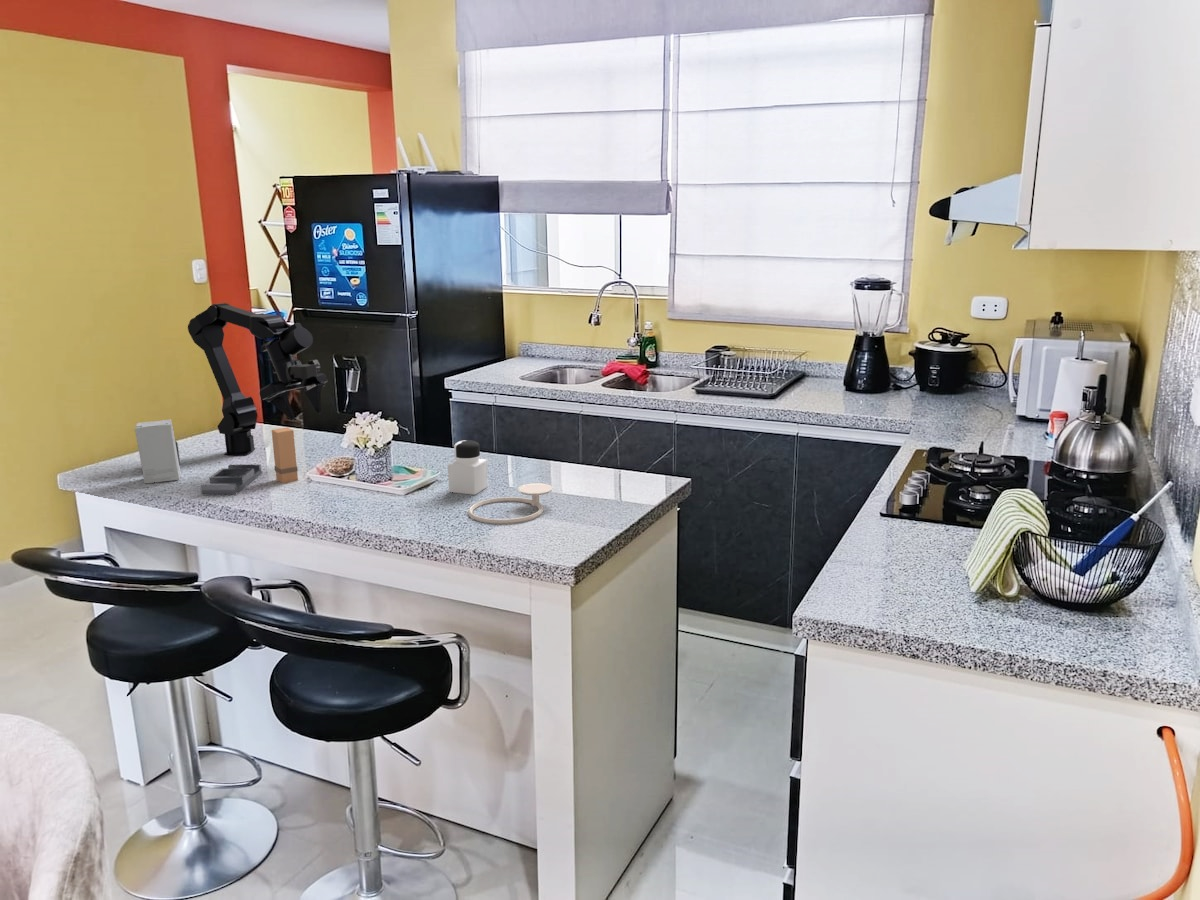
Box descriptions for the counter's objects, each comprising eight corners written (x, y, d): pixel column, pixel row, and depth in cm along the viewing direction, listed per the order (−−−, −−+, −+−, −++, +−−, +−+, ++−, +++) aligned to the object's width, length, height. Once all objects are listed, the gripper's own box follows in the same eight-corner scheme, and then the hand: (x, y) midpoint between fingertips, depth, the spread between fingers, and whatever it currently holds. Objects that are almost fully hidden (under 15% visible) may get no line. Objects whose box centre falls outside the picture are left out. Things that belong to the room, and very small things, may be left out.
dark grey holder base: (201, 494, 218) (200, 483, 218) (230, 473, 236) (229, 463, 235) (235, 494, 219) (234, 483, 218) (261, 473, 236) (260, 463, 235)
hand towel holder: (453, 492, 206) (531, 477, 218) (454, 510, 207) (532, 494, 219) (490, 511, 193) (570, 493, 205) (491, 531, 194) (571, 512, 206)
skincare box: (180, 474, 235) (173, 418, 231) (179, 481, 230) (171, 423, 226) (144, 478, 232) (137, 421, 228) (142, 484, 227) (134, 426, 223)
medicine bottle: (488, 487, 224) (486, 439, 221) (475, 495, 217) (473, 446, 214) (462, 484, 226) (460, 437, 223) (448, 492, 220) (446, 444, 217)
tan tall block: (275, 479, 230) (270, 429, 227) (292, 476, 233) (287, 427, 230) (282, 483, 227) (277, 432, 224) (298, 480, 230) (293, 430, 227)
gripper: (274, 355, 227) (298, 413, 228) (329, 345, 243) (351, 399, 244) (248, 370, 233) (271, 427, 234) (303, 360, 249) (325, 413, 250)
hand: (306, 416), depth 240 cm, fingers open, 9 cm apart
